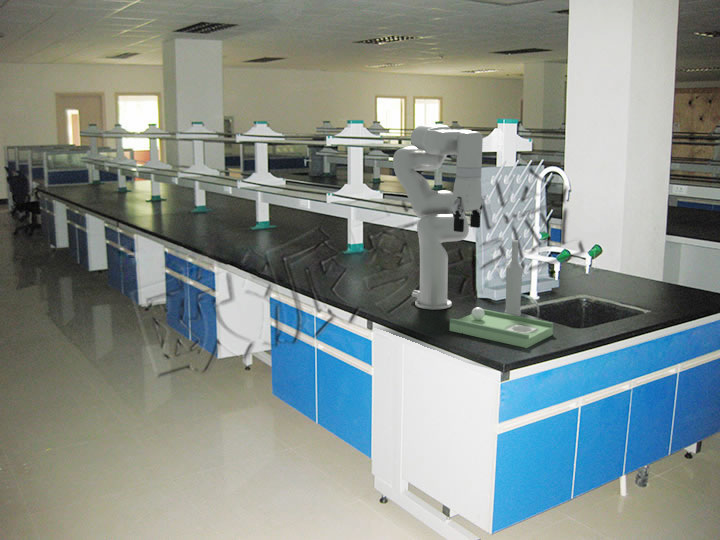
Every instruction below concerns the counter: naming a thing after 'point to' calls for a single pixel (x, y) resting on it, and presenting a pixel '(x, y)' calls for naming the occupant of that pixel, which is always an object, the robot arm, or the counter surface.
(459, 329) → the putting mat
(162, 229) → the counter surface
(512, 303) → the bottle
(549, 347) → the counter surface
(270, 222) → the counter surface
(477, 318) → the ball
